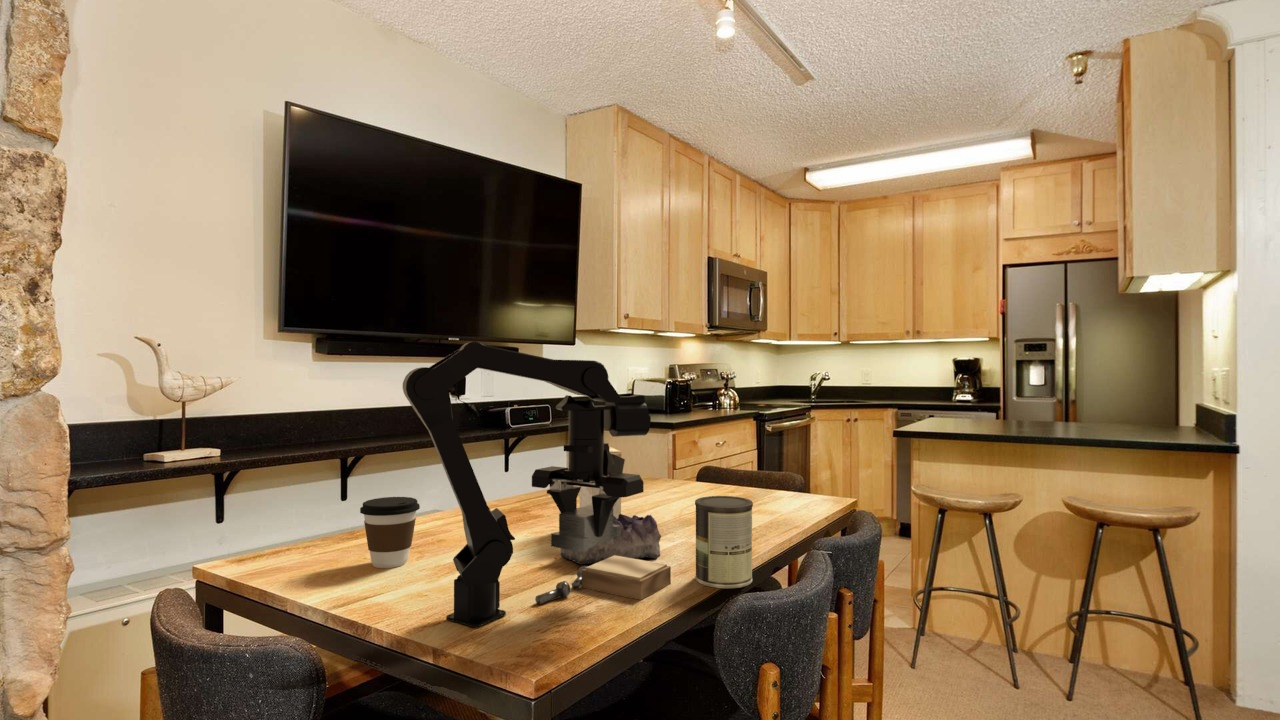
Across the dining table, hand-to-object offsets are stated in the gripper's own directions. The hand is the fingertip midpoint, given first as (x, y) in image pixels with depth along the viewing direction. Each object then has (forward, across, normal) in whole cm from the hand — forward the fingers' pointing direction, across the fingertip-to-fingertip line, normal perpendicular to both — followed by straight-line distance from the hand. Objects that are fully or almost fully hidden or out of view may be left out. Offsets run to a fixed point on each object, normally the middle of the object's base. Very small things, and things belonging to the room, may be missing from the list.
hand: (586, 534), depth 111 cm
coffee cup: (+11, +45, +2) cm, 47 cm away
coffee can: (+11, -14, -23) cm, 29 cm away
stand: (+11, -1, -11) cm, 15 cm away
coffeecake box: (+11, +25, -40) cm, 48 cm away
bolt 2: (+11, +6, -7) cm, 14 cm away
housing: (+1, 0, 0) cm, 1 cm away
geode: (+11, +11, -24) cm, 29 cm away
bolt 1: (+11, +6, +2) cm, 13 cm away
